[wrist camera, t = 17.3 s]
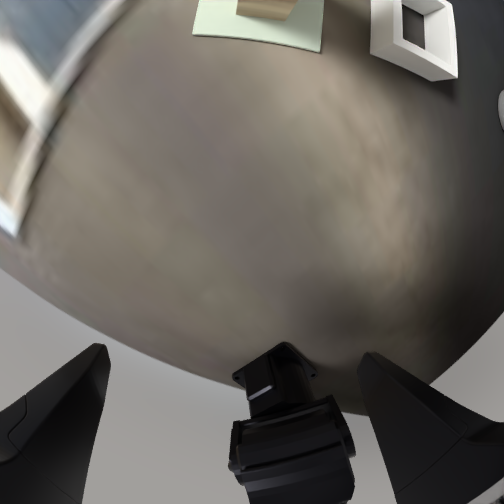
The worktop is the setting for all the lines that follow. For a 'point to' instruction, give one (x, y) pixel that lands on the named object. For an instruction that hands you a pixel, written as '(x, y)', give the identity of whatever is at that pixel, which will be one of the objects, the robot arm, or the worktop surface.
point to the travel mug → (501, 108)
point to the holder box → (407, 54)
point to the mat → (262, 24)
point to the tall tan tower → (266, 8)
